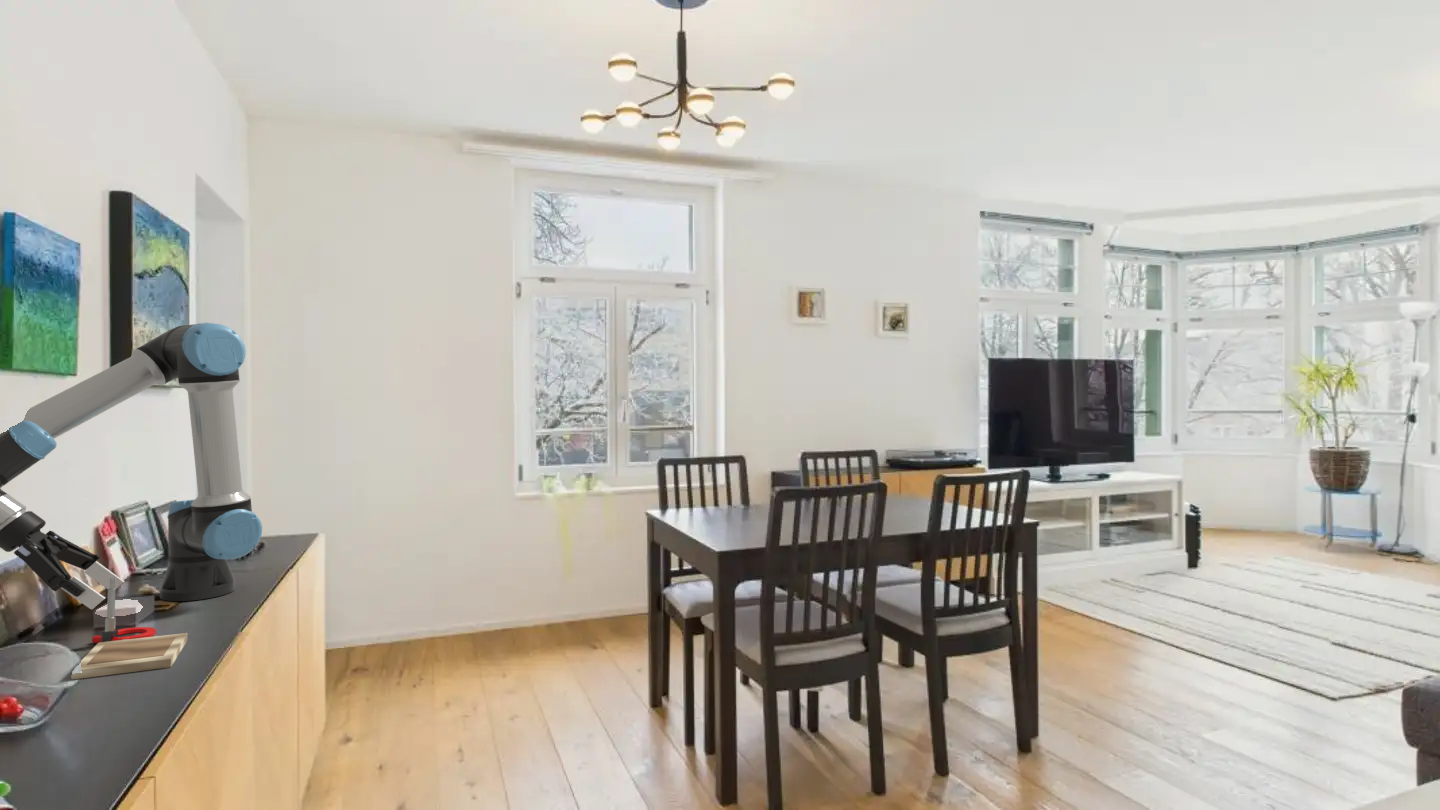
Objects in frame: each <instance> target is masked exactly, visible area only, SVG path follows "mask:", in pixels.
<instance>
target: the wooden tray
mask: <svg viewBox="0 0 1440 810" xmlns="http://www.w3.org/2000/svg"><path fill="white" fill-rule="evenodd" d="M186 643H188V632H185V633H184V632H183V633H175V634H166V635H153V636H151V637H145V638H136V639H127V640H118V641H109V642H100V643H96V645H95V646H93V648H92V649H91V650H90V651H89V652H88V653H87V654H86V655H85V656H84V657H83V658H82V659H81V660H80V661H81V671H82V673H75V674H72V675H71V674H70V676H71V679H70V680H79V679H87V678H95V677H102V676H111V675H119V674H126V673H134V672H142V671H151V670H159V669H167V668H171V667H173V664H174V663H175V662H176V660H177V659H178V657H179V655H180V653H181V651H182V650H183V648H184V647H185V645H186Z"/></svg>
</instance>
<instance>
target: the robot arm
mask: <svg viewBox="0 0 1440 810" xmlns="http://www.w3.org/2000/svg"><path fill="white" fill-rule="evenodd" d="M246 354H247V353H246V346H245V343H244V341H243V339H242V338H241V335H239V334H238V333H237V332H236V331H235V330H233V329H232V328H230V327H228V326H226V325H223V324H219V323H214V322H203V323H201V322H199V323H194V324H185V325H184V324H183V325H178V326H176V327H173V328H171V329H168V331H165V332H163V333H161V334H160V335H158V336H156V337H155V338H153V339H151V340H149V341H148V342H146V343H144V344H143V345H141V346H138V347H137V348H135V349H133V350H132V351H131V356H130V357H127V358H125V359H123V360H122V361H120V362H118V363H116V364H114V365H112V366H110V367H108V368H106V369H104V370H102V371H101V372H98V373H96V374H94V375H92V376H91V377H88V378H86V379H85V380H83V381H80V382H79V383H77V384H75V385H73V386H71V387H69V388H66V389H65V390H63V391H62V392H59V393H57V394H55V395H54V396H51V397H50V398H47V399H45V400H44V401H41V402H40V403H37V404H35V405H33V406H32V407H29V408H30V409H29V408H28V409H29V410H28V411H27V413H26V415H25V418H24V420H23V421H22V422H20V423H18V424H17V425H15V426H12V427H10V428H9V430H7V431H6V432H3V433H1V434H0V549H1V550H4V552H7V553H9V552H12V551H13V554H14V555H15V556H17V558H20V559H21V560H22V561H23V562H24V563H25V564H26V565H27V566H28V567H29V568H30V569H31V571H33V572H34V574H36V575H37V576H38V578H40V579H41V580H42V581H43V582H44V583H45V585H47V586H48V588H50V590H52V591H53V592H57V591H58V590H60V589H61V590H62V591H63V592H65V593H67V594H68V595H70V596H71V597H72V598H74V599H75V600H76V601H79V603H81V604H83V605H84V606H85V607H87V608H88V609H90V610H93V609H95V608H96V607H97V606H98V605H100V603H102V602H103V601H104V600H105V599H106V596H104V595H102V594H101V593H100V592H98V591H97V590H95V589H94V588H92V587H91V585H90V586H89V585H88V584H87V583H85V582H84V581H82V580H81V579H80V578H78V577H77V576H75V575H74V576H73V577H72V576H71V574H70V573H69V572H68V570H67V569H66V568H65V567H64V565H63V563H62V562H64V563H66V564H69V565H71V566H74V567H76V568H78V569H81V570H84V571H83V573H84V574H85V575H87V577H90V579H93V580H94V581H95V582H97V583H98V584H99V585H101V587H104V588H105V589H107V590H108V589H109V587H110V578H115V587H114V588H116V590H117V589H118V588H119V587H120V586H121V585H122V584H123V583H125V580H123V579H122V578H120V577H119V576H118V575H116V574H115V573H114V572H112V571H111V570H110V569H108V568H106V566H104V565H103V564H102V563H100V562H99V561H98V560H99V559H100V558H101V557H100V556H99V555H98V554H95V553H92V552H91V551H89V550H87V549H84V548H83V547H80V546H79V545H77V544H75V543H74V542H72V541H69V540H67V539H65V538H64V537H62V536H60V535H59V534H57V533H56V532H55V531H54V530H53V531H52V530H49V531H47V532H46V533H44V532H42V531H41V530H42V529H43V528H44V527H45V525H46V520H44V519H43V518H41V517H40V516H38V514H36V513H34V512H33V511H32V510H31V511H30V510H28V511H27V506H26V505H24V504H23V503H21V502H20V501H18V500H17V499H16V498H14V497H13V496H11V495H10V494H9V493H7V492H5V491H3V490H2V487H4V486H5V485H7V484H9V483H10V482H11V481H12V480H14V479H15V478H17V477H18V476H20V475H21V474H23V473H24V472H25V471H27V470H28V469H30V468H31V467H32V466H34V465H35V464H37V463H38V462H39V461H42V460H44V459H45V458H46V456H48V455H49V454H50V453H51V452H52V451H54V450H55V449H56V448H57V442H56V440H55V439H56V438H58V437H60V436H62V435H63V434H66V433H67V432H69V431H71V430H73V429H74V428H76V427H78V426H80V425H82V424H84V423H86V422H88V421H89V420H91V419H93V418H95V417H97V416H98V415H100V414H103V413H104V412H106V411H108V410H110V409H111V408H114V407H115V406H118V405H119V404H121V403H123V402H125V401H126V400H128V399H130V398H132V397H134V396H136V395H137V394H139V393H142V392H143V391H145V390H146V389H150V387H152V386H154V385H156V386H165V385H166V384H167V383H169V382H171V381H174V380H176V379H177V381H178V385H179V386H180V387H182V388H183V389H185V391H186V392H187V397H188V407H189V415H190V426H191V437H192V438H191V439H192V445H193V456H194V466H195V476H196V486H197V497H195V499H187V500H177V501H172V502H171V503H170V504H169V506H168V513H167V525H168V526H167V532H168V535H167V536H168V538H167V539H168V540H167V542H168V545H167V546H168V565H167V568H166V571H165V573H164V576H163V578H162V582H161V584H160V586H159V599H160V600H162V601H167V602H168V601H169V602H190V601H191V602H192V601H197V600H198V601H200V600H206V599H211V598H217V597H221V596H225V595H227V594H230V593H232V592H233V591H235V590H236V580H235V577H234V574H233V571H232V569H231V567H230V564H229V561H228V560H236V559H240V558H242V557H244V556H246V555H248V554H249V553H251V551H253V550H254V548H255V547H256V546H257V545H258V544H259V542H260V541H261V538H262V534H263V524H262V522H261V519H260V518H259V517H258V515H257V514H256V513H254V512H253V507H252V498H251V495H250V494H248V493H246V492H245V491H244V490H243V484H242V475H241V474H242V473H241V465H240V464H241V461H240V453H239V442H238V441H239V440H238V434H237V432H238V431H237V422H236V411H235V402H234V401H235V400H234V392H233V391H234V388H235V387H236V386H237V385H238V384H239V383H240V370H239V368H241V367H242V365H243V363H244V362H245V359H246Z"/></svg>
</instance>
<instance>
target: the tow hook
mask: <svg viewBox="0 0 1440 810" xmlns="http://www.w3.org/2000/svg"><path fill="white" fill-rule="evenodd" d="M114 587H115V578H110V587H109V589H107V606H106V607H107V608H106V617H105V619H104V630H102V631H101V635H94V636H93V637H92V638H91V642H92V644H98V643H100V642H109V641H118V640H127V639H136V638H145V637H154V636H156V633H157V632H156V631H157V630H156V628H154V627H149V626H145V627H144V626H140V627H126V628H121V629H116V625H117V617H116V614H115V613H116V611H115V610H116V593H117V592H116V591H117V589H116V588H114ZM138 633H140V634H138ZM126 634H134V635H127V636H125V635H126ZM121 635H124V636H121ZM120 636H121V637H120Z"/></svg>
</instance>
